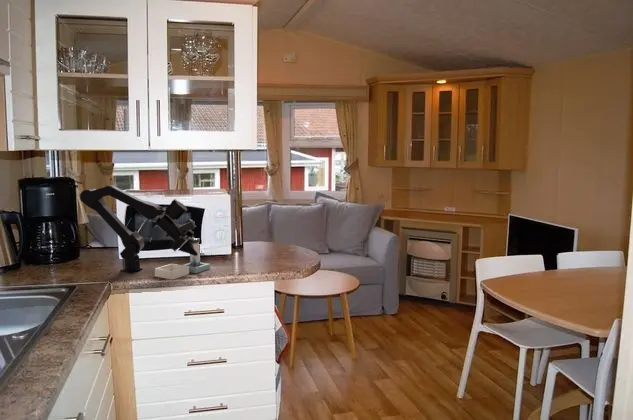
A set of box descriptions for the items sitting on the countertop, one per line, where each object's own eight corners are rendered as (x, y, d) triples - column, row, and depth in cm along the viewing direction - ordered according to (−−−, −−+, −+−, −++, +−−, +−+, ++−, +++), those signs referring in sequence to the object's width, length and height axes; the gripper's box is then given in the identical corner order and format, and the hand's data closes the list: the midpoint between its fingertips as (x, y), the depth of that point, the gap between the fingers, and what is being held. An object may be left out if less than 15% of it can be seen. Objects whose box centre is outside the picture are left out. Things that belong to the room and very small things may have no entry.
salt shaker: (186, 270, 212) (185, 239, 211) (195, 267, 217) (193, 237, 215) (195, 271, 210) (194, 240, 208) (203, 269, 214) (202, 238, 212)
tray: (154, 276, 203) (154, 268, 203) (172, 270, 211) (172, 263, 211) (172, 279, 198) (171, 271, 198) (189, 273, 207) (189, 266, 206)
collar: (180, 270, 212) (180, 265, 211) (194, 266, 219) (194, 261, 219) (195, 273, 208) (195, 268, 207) (210, 268, 215) (210, 263, 215)
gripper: (178, 217, 201) (207, 245, 203) (188, 210, 219) (215, 236, 221) (158, 237, 201) (188, 264, 203) (170, 229, 220) (197, 254, 222)
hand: (198, 253), depth 212 cm, fingers closed on salt shaker, 4 cm apart
